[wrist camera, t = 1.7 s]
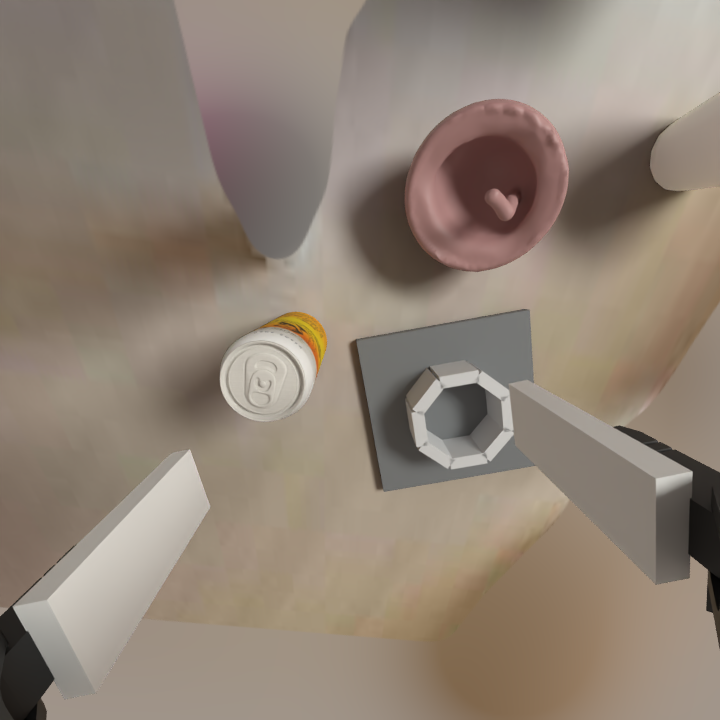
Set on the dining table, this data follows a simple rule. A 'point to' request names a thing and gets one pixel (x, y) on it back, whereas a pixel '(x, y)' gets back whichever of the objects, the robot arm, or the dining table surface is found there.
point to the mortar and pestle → (486, 185)
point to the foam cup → (689, 150)
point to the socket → (446, 398)
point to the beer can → (273, 367)
